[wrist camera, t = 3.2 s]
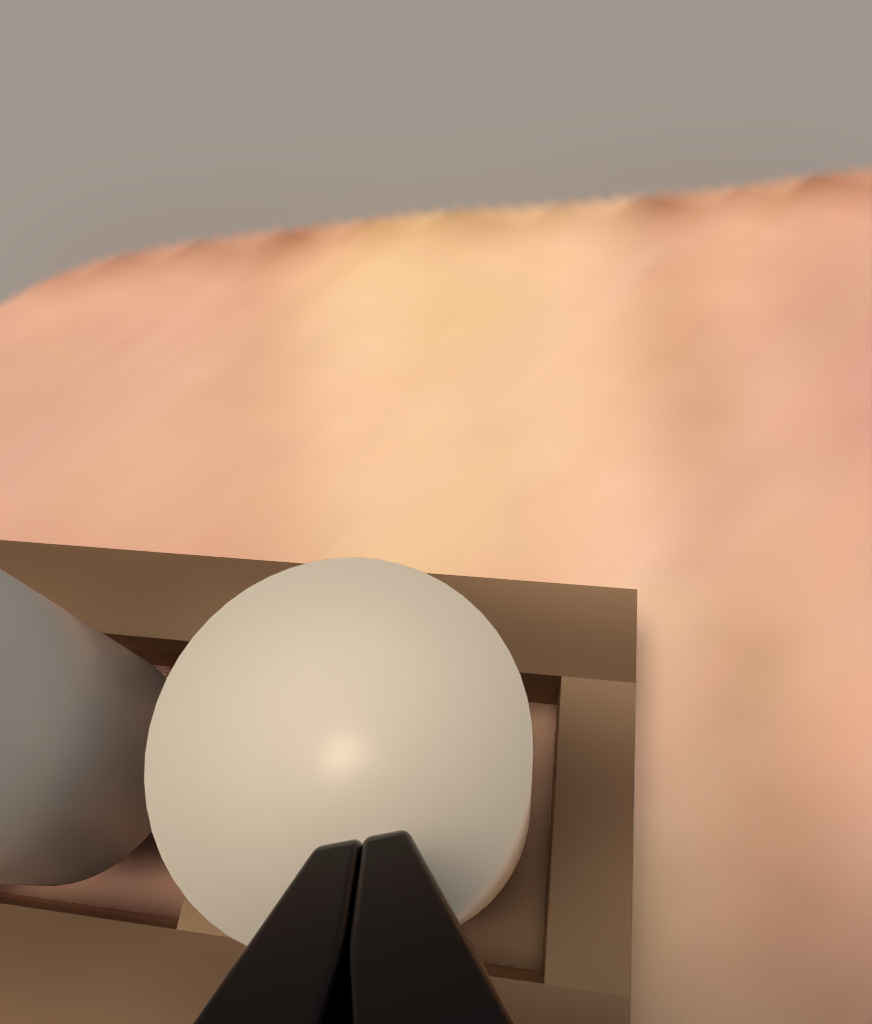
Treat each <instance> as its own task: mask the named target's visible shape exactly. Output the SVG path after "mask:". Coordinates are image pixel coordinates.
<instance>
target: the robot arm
mask: <svg viewBox="0 0 872 1024" xmlns="http://www.w3.org/2000/svg"><path fill="white" fill-rule="evenodd" d="M193 1024H516V1023H515V1021H514V1020H513V1018H512V1016H511V1014H510V1012H509V1011H508V1009H507V1007H506V1005H505V1003H504V1002H503V1000H502V998H501V996H500V994H499V993H498V991H497V989H496V987H495V985H494V984H493V982H492V980H491V978H490V977H489V975H488V973H487V971H486V969H485V968H484V966H483V964H482V962H481V960H480V959H479V957H478V955H477V953H476V951H475V950H474V948H473V946H472V944H471V942H470V941H469V939H468V937H467V935H466V933H465V932H464V930H463V928H462V926H461V924H460V923H459V921H458V919H457V917H456V915H455V914H454V912H453V910H452V908H451V906H450V905H449V903H448V901H447V899H446V897H445V896H444V894H443V892H442V890H441V889H440V887H439V885H438V883H437V881H436V880H435V878H434V876H433V874H432V872H431V871H430V869H429V867H428V865H427V863H426V862H425V860H424V858H423V856H422V854H421V853H420V851H419V849H418V847H417V845H416V844H415V842H414V840H413V838H412V836H411V835H410V834H409V833H408V832H407V831H404V830H399V831H394V832H389V833H384V834H379V835H373V836H369V837H368V838H366V839H365V840H364V842H363V844H362V843H361V842H360V841H359V840H357V839H352V840H347V841H342V842H337V843H331V844H326V845H322V846H319V847H317V848H316V849H315V850H314V851H313V852H312V853H311V855H310V856H309V857H308V859H307V860H306V862H305V863H304V865H303V866H302V868H301V869H300V870H299V872H298V873H297V875H296V876H295V878H294V879H293V881H292V882H291V883H290V885H289V886H288V888H287V889H286V891H285V892H284V894H283V895H282V896H281V898H280V899H279V901H278V902H277V904H276V905H275V907H274V908H273V909H272V911H271V912H270V914H269V915H268V917H267V918H266V920H265V921H264V922H263V924H262V925H261V927H260V928H259V930H258V931H257V933H256V934H255V935H254V937H253V938H252V940H251V941H250V943H249V944H248V946H247V947H246V948H245V950H244V951H243V953H242V954H241V956H240V957H239V959H238V960H237V961H236V963H235V964H234V966H233V967H232V969H231V970H230V972H229V973H228V974H227V976H226V977H225V979H224V980H223V982H222V983H221V984H220V986H219V987H218V989H217V990H216V992H215V993H214V995H213V996H212V997H211V999H210V1000H209V1002H208V1003H207V1005H206V1006H205V1008H204V1009H203V1010H202V1012H201V1013H200V1015H199V1016H198V1018H197V1019H196V1021H195V1022H194V1023H193Z"/></svg>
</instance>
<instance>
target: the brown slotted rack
mask: <svg viewBox="0 0 872 1024" xmlns="http://www.w3.org/2000/svg"><path fill="white" fill-rule="evenodd" d="M299 565H303V564H301V563H289V562H276V561H263V560H250V559H237V558H224V557H211V556H198V555H185V554H173V553H160V552H147V551H134V550H121V549H108V548H95V547H82V546H70V545H57V544H44V543H31V542H18V541H5V540H0V569H1V570H3V571H5V572H6V573H8V574H9V575H11V576H12V577H14V578H16V579H17V580H19V581H20V582H22V583H24V584H25V585H27V586H28V587H30V588H32V589H33V590H35V591H36V592H38V593H39V594H41V595H43V596H44V597H46V598H47V599H49V600H51V601H52V602H54V603H55V604H57V605H59V606H60V607H62V608H63V609H65V610H66V611H68V612H70V613H71V614H73V615H74V616H76V617H78V618H79V619H81V620H82V621H84V622H86V623H87V624H89V625H90V626H92V627H93V628H95V629H97V630H98V631H100V632H101V633H103V634H105V635H106V636H108V637H109V638H111V639H113V640H114V641H116V642H117V643H119V644H120V645H122V646H124V647H125V648H127V649H128V650H130V651H132V652H133V653H135V654H136V655H138V656H140V657H141V658H143V659H144V660H146V661H147V662H149V663H150V664H155V665H165V666H174V665H175V663H176V661H177V659H178V658H179V656H180V655H181V653H182V652H183V650H184V649H185V648H186V646H187V645H188V643H189V642H190V641H191V639H192V638H193V636H194V635H195V634H196V633H197V632H198V631H199V630H200V629H201V628H202V626H203V625H204V624H205V623H206V622H207V621H208V620H209V619H210V618H211V617H212V616H213V615H214V614H215V613H216V612H218V611H219V610H220V609H221V608H222V607H223V606H224V605H225V604H227V603H228V602H229V601H230V600H232V599H233V598H235V597H236V596H237V595H239V594H240V593H242V592H243V591H245V590H246V589H247V588H249V587H251V586H253V585H255V584H256V583H258V582H260V581H262V580H264V579H265V578H267V577H269V576H272V575H274V574H277V573H279V572H282V571H284V570H287V569H289V568H292V567H295V566H299ZM427 574H428V575H430V576H432V577H434V578H436V579H438V580H440V581H442V582H444V583H446V584H447V585H448V586H450V587H451V588H453V589H454V590H456V591H457V592H458V593H460V594H461V595H463V596H464V597H465V598H466V599H467V600H468V601H469V602H471V603H472V604H473V605H474V606H475V607H476V608H477V609H478V610H479V611H480V612H481V613H482V614H483V615H484V616H485V617H486V619H487V620H488V621H489V622H490V623H491V625H492V626H493V627H494V628H495V629H496V631H497V632H498V634H499V635H500V637H501V639H502V640H503V642H504V643H505V645H506V646H507V648H508V650H509V651H510V653H511V655H512V658H513V660H514V662H515V664H516V666H517V669H518V671H519V673H520V675H521V679H522V682H523V685H524V689H525V692H526V695H527V698H528V701H529V702H539V703H549V704H557V717H556V734H555V752H554V769H553V786H552V804H551V821H550V839H549V856H548V874H547V891H546V908H545V926H544V943H543V961H542V972H538V971H531V970H524V969H517V968H510V967H504V966H497V965H490V964H483V963H482V964H483V966H484V968H485V969H486V971H487V973H488V975H489V977H490V978H491V980H492V982H493V984H494V985H495V987H496V989H497V991H498V993H499V994H500V996H501V998H502V1000H503V1002H504V1003H505V1005H506V1007H507V1009H508V1011H509V1012H510V1014H511V1016H512V1018H513V1020H514V1021H515V1023H516V1024H630V991H631V931H632V871H633V810H634V750H635V690H636V630H637V590H636V589H623V588H611V587H598V586H585V585H572V584H559V583H546V582H533V581H520V580H508V579H495V578H482V577H469V576H456V575H443V574H430V573H427ZM246 947H247V946H246V945H244V944H242V943H240V942H238V941H237V940H235V939H233V938H231V937H229V936H228V935H226V934H225V933H224V932H222V931H221V930H220V929H218V928H217V927H216V926H214V925H213V924H212V923H210V922H209V921H208V920H207V919H206V918H205V917H204V916H203V915H202V914H201V913H200V912H199V911H198V910H197V909H196V908H195V907H194V906H193V905H192V904H191V903H190V902H189V901H188V899H187V898H186V897H185V895H184V899H183V903H182V907H181V912H180V916H179V919H176V918H169V917H163V916H156V915H149V914H142V913H135V912H129V911H122V910H115V909H108V908H101V907H94V906H88V905H81V904H74V903H67V902H60V901H54V900H47V899H40V898H33V897H26V896H19V895H13V894H6V893H0V1024H193V1023H194V1022H195V1021H196V1019H197V1018H198V1016H199V1015H200V1013H201V1012H202V1010H203V1009H204V1008H205V1006H206V1005H207V1003H208V1002H209V1000H210V999H211V997H212V996H213V995H214V993H215V992H216V990H217V989H218V987H219V986H220V984H221V983H222V982H223V980H224V979H225V977H226V976H227V974H228V973H229V972H230V970H231V969H232V967H233V966H234V964H235V963H236V961H237V960H238V959H239V957H240V956H241V954H242V953H243V951H244V950H245V948H246Z"/></svg>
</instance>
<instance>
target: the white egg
mask: <svg viewBox="0 0 872 1024" xmlns="http://www.w3.org/2000/svg"><path fill="white" fill-rule="evenodd" d="M532 767H533V736H532V721H531V716H530V710H529V704H528V698H527V695H526V692H525V689H524V685H523V682H522V679H521V675H520V673H519V671H518V669H517V666H516V664H515V662H514V660H513V658H512V655H511V653H510V651H509V650H508V648H507V646H506V645H505V643H504V642H503V640H502V639H501V637H500V635H499V634H498V632H497V631H496V629H495V628H494V627H493V626H492V625H491V623H490V622H489V621H488V620H487V619H486V617H485V616H484V615H483V614H482V613H481V612H480V611H479V610H478V609H477V608H476V607H475V606H474V605H473V604H472V603H471V602H469V601H468V600H467V599H466V598H465V597H464V596H463V595H461V594H460V593H458V592H457V591H456V590H454V589H453V588H451V587H450V586H448V585H447V584H446V583H444V582H442V581H440V580H438V579H436V578H434V577H432V576H430V575H428V574H427V573H424V572H422V571H419V570H416V569H414V568H411V567H408V566H405V565H402V564H398V563H393V562H389V561H384V560H378V559H368V558H334V559H327V560H321V561H314V562H310V563H306V564H303V565H299V566H295V567H292V568H289V569H287V570H284V571H282V572H279V573H277V574H274V575H272V576H269V577H267V578H265V579H264V580H262V581H260V582H258V583H256V584H255V585H253V586H251V587H249V588H247V589H246V590H245V591H243V592H242V593H240V594H239V595H237V596H236V597H235V598H233V599H232V600H230V601H229V602H228V603H227V604H225V605H224V606H223V607H222V608H221V609H220V610H219V611H218V612H216V613H215V614H214V615H213V616H212V617H211V618H210V619H209V620H208V621H207V622H206V623H205V624H204V625H203V626H202V628H201V629H200V630H199V631H198V632H197V633H196V634H195V635H194V636H193V638H192V639H191V641H190V642H189V643H188V645H187V646H186V648H185V649H184V650H183V652H182V653H181V655H180V656H179V658H178V659H177V661H176V663H175V665H174V666H173V668H172V670H171V672H170V674H169V675H168V677H167V679H166V681H165V684H164V686H163V689H162V691H161V693H160V696H159V698H158V700H157V703H156V706H155V710H154V713H153V717H152V720H151V724H150V727H149V733H148V739H147V745H146V751H145V770H144V784H145V796H146V807H147V811H148V816H149V821H150V825H151V830H152V833H153V836H154V839H155V842H156V844H157V847H158V850H159V853H160V855H161V858H162V860H163V861H164V863H165V865H166V867H167V869H168V871H169V873H170V875H171V877H172V878H173V880H174V882H175V883H176V884H177V886H178V887H179V889H180V890H181V891H182V893H183V894H184V895H185V897H186V898H187V899H188V901H189V902H190V903H191V904H192V905H193V906H194V907H195V908H196V909H197V910H198V911H199V912H200V913H201V914H202V915H203V916H204V917H205V918H206V919H207V920H208V921H209V922H210V923H212V924H213V925H214V926H216V927H217V928H218V929H220V930H221V931H222V932H224V933H225V934H226V935H228V936H229V937H231V938H233V939H235V940H237V941H238V942H240V943H242V944H244V945H246V946H248V944H249V943H250V941H251V940H252V938H253V937H254V935H255V934H256V933H257V931H258V930H259V928H260V927H261V925H262V924H263V922H264V921H265V920H266V918H267V917H268V915H269V914H270V912H271V911H272V909H273V908H274V907H275V905H276V904H277V902H278V901H279V899H280V898H281V896H282V895H283V894H284V892H285V891H286V889H287V888H288V886H289V885H290V883H291V882H292V881H293V879H294V878H295V876H296V875H297V873H298V872H299V870H300V869H301V868H302V866H303V865H304V863H305V862H306V860H307V859H308V857H309V856H310V855H311V853H312V852H313V851H314V850H315V849H316V848H317V847H319V846H322V845H326V844H331V843H337V842H342V841H347V840H352V839H357V840H359V841H360V842H361V843H362V844H363V842H364V840H365V839H366V838H368V837H369V836H373V835H379V834H384V833H389V832H394V831H399V830H404V831H407V832H408V833H409V834H410V835H411V836H412V838H413V840H414V842H415V844H416V845H417V847H418V849H419V851H420V853H421V854H422V856H423V858H424V860H425V862H426V863H427V865H428V867H429V869H430V871H431V872H432V874H433V876H434V878H435V880H436V881H437V883H438V885H439V887H440V889H441V890H442V892H443V894H444V896H445V897H446V899H447V901H448V903H449V905H450V906H451V908H452V910H453V912H454V914H455V915H456V917H457V919H458V921H459V923H460V924H463V923H464V922H466V921H467V920H469V919H470V918H472V917H474V916H475V915H477V914H478V913H479V912H480V911H481V910H483V909H484V908H485V907H486V906H487V905H488V904H490V903H491V901H492V900H493V899H494V898H495V897H496V896H497V895H498V894H499V892H500V891H501V890H502V889H503V887H504V886H505V884H506V883H507V881H508V880H509V879H510V877H511V876H512V874H513V872H514V870H515V868H516V866H517V864H518V862H519V860H520V857H521V854H522V851H523V849H524V846H525V843H526V838H527V834H528V829H529V822H530V811H531V790H532Z"/></svg>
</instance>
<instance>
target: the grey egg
mask: <svg viewBox="0 0 872 1024" xmlns="http://www.w3.org/2000/svg"><path fill="white" fill-rule="evenodd" d="M165 681H166V679H165V677H164V676H163V675H162V674H161V673H160V672H159V671H158V670H157V669H156V668H155V667H154V666H153V665H152V664H150V663H149V662H147V661H146V660H144V659H143V658H141V657H140V656H138V655H136V654H135V653H133V652H132V651H130V650H128V649H127V648H125V647H124V646H122V645H120V644H119V643H117V642H116V641H114V640H113V639H111V638H109V637H108V636H106V635H105V634H103V633H101V632H100V631H98V630H97V629H95V628H93V627H92V626H90V625H89V624H87V623H86V622H84V621H82V620H81V619H79V618H78V617H76V616H74V615H73V614H71V613H70V612H68V611H66V610H65V609H63V608H62V607H60V606H59V605H57V604H55V603H54V602H52V601H51V600H49V599H47V598H46V597H44V596H43V595H41V594H39V593H38V592H36V591H35V590H33V589H32V588H30V587H28V586H27V585H25V584H24V583H22V582H20V581H19V580H17V579H16V578H14V577H12V576H11V575H9V574H8V573H6V572H5V571H3V570H1V569H0V884H3V885H36V886H57V885H64V884H71V883H75V882H78V881H82V880H85V879H88V878H90V877H93V876H95V875H97V874H100V873H102V872H104V871H105V870H107V869H109V868H110V867H112V866H114V865H115V864H117V863H118V862H120V861H121V860H122V859H124V858H125V857H126V856H128V855H129V854H130V853H131V852H132V851H133V850H135V849H136V848H137V847H138V846H139V845H140V844H141V843H142V842H143V841H144V840H145V839H146V837H147V836H148V835H149V834H150V833H151V831H152V830H151V825H150V821H149V816H148V811H147V807H146V796H145V784H144V770H145V751H146V745H147V739H148V733H149V727H150V724H151V720H152V717H153V713H154V710H155V706H156V703H157V700H158V698H159V696H160V693H161V691H162V689H163V686H164V684H165Z"/></svg>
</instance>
